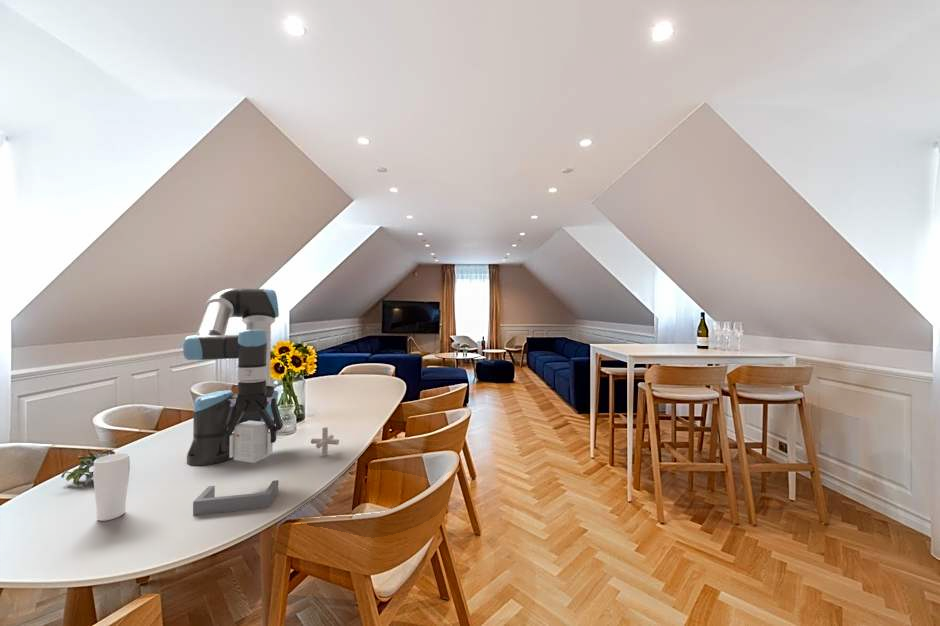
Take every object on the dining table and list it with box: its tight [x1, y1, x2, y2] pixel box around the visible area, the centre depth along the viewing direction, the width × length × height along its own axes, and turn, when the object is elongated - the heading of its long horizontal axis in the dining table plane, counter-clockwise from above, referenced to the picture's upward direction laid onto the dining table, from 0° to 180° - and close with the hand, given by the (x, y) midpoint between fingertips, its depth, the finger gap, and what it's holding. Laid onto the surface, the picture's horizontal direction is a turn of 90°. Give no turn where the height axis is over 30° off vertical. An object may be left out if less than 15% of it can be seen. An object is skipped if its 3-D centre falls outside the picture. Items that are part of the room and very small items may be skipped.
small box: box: [233, 421, 270, 464], centre depth 113 cm, size 8×6×10 cm
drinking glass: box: [92, 452, 131, 522], centre depth 96 cm, size 7×7×15 cm
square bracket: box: [192, 479, 279, 516], centre depth 103 cm, size 18×9×4 cm, turn 103°
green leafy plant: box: [60, 448, 117, 488], centre depth 116 cm, size 11×11×12 cm
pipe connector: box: [310, 426, 340, 457], centre depth 139 cm, size 10×10×10 cm
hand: (251, 454), depth 113 cm, fingers closed on small box, 9 cm apart
